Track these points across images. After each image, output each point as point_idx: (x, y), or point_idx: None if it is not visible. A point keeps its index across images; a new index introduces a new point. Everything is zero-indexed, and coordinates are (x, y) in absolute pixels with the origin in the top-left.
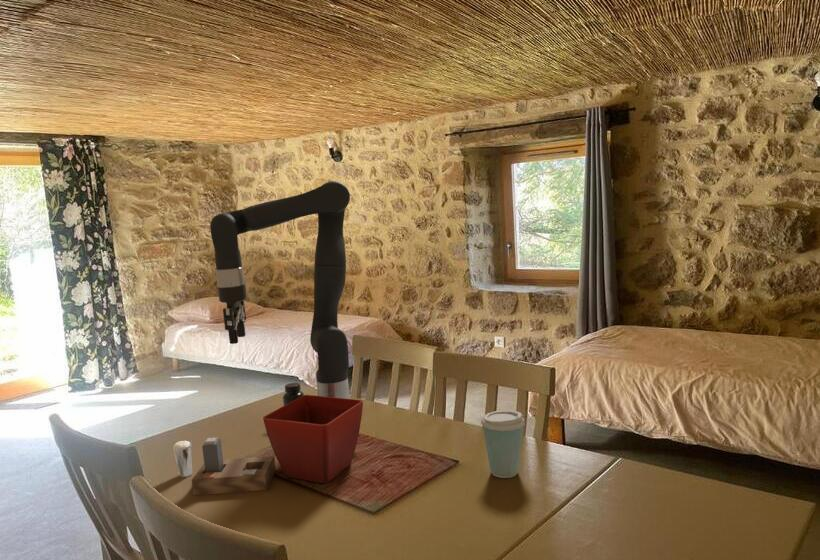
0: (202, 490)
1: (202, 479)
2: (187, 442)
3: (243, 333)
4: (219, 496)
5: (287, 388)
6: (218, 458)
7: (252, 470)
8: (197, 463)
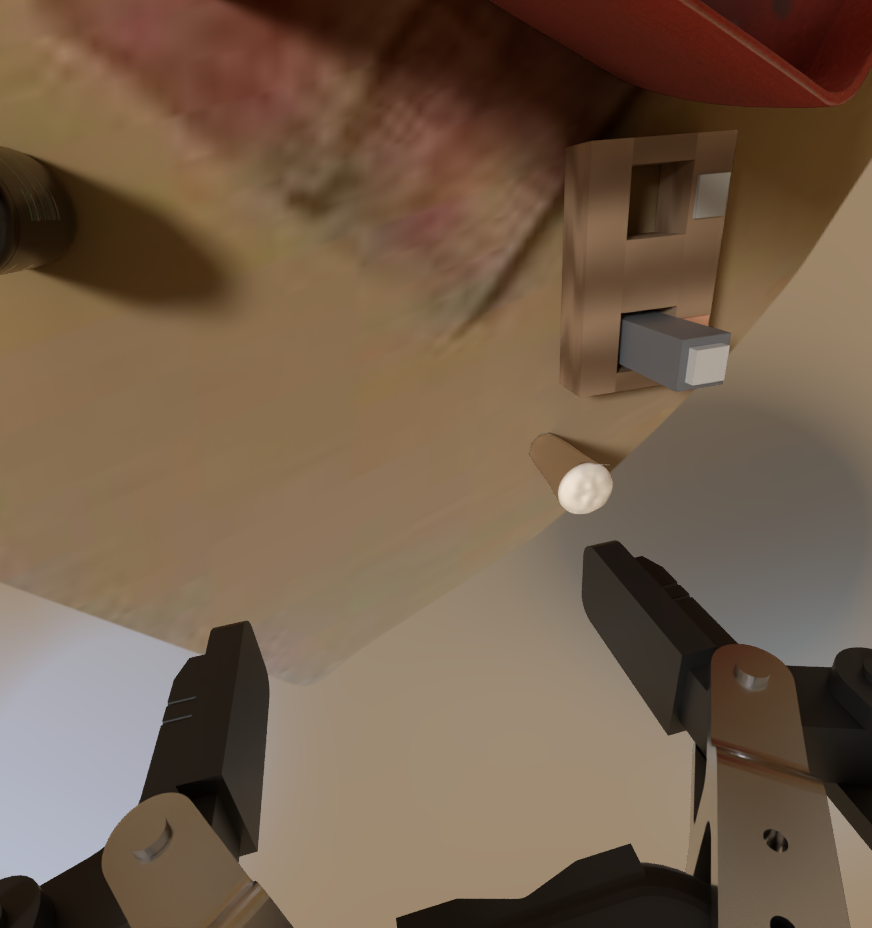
0: None
1: None
2: (587, 478)
3: (245, 657)
4: None
5: None
6: (693, 322)
7: (706, 188)
8: (472, 453)
